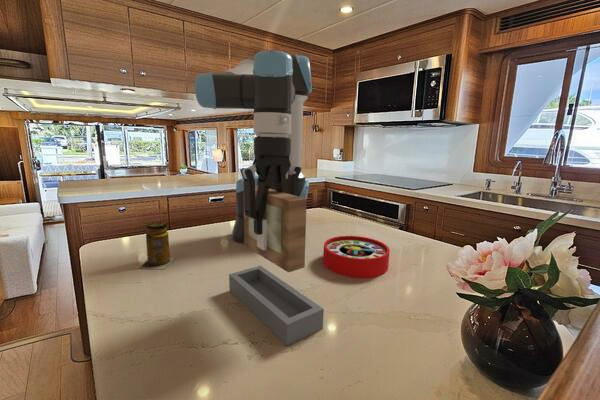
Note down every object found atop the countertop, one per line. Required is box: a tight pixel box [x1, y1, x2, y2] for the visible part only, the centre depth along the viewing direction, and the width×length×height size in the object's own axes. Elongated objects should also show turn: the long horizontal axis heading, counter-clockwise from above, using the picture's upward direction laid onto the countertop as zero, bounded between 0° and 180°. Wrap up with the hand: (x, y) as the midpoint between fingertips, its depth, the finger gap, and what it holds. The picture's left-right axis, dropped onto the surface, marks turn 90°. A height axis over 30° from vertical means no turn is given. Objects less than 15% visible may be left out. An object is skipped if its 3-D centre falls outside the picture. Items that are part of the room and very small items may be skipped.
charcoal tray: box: [228, 265, 325, 347], centre depth 69 cm, size 25×9×4 cm, turn 38°
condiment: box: [138, 221, 176, 270], centre depth 90 cm, size 7×8×12 cm
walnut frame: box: [243, 186, 308, 273], centre depth 65 cm, size 18×4×14 cm, turn 38°
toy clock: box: [322, 235, 391, 279], centre depth 94 cm, size 20×6×20 cm
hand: (271, 245), depth 66 cm, fingers closed on walnut frame, 4 cm apart
